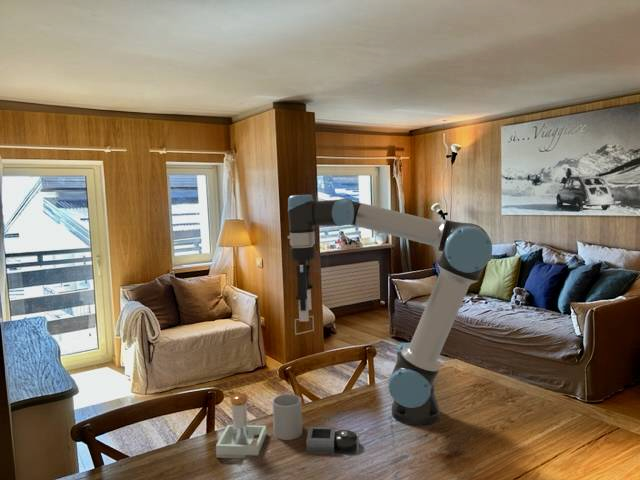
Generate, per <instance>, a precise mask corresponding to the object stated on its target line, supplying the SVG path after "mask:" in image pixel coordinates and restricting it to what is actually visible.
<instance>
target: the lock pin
mask: <svg viewBox="0 0 640 480" xmlns="http://www.w3.org/2000/svg"><path fill="white" fill-rule="evenodd" d="M247 402H248V395H247V394H246V393H241V392H240V393H235V394H233V395H231V396H230V404H231V409H232V410H231V412H232V413H231V415H232V425H233V439H234V445H248V430H247V425H248V413H247V412H248V411H247V408H248V407H247Z"/></svg>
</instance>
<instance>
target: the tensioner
mask: <svg viewBox="0 0 640 480" xmlns="http://www.w3.org/2000/svg"><path fill="white" fill-rule="evenodd" d="M359 443H360V436H359V435H357V434H356V432H354V431H353V430H349V429H342V430H336V427H335V426H308V431H307V436H306V441H305V444H306V451H307V452H306V454H324V455H326V454H327V455H328V454H329V455H353V456H354V455H355V456H357V455H360V453H359V452H360V451H359V450H360V444H359Z"/></svg>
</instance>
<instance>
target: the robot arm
mask: <svg viewBox="0 0 640 480" xmlns="http://www.w3.org/2000/svg"><path fill="white" fill-rule="evenodd" d="M287 216H288V217H287V218H288V228H289V229H288V230H289V235H287V239H288V240H289V245H290V246H291V247H290V249H289V252H290V253H289V254H290V260H292V261H298V264H297V265H296V268H295V269H296V279H297V296H295V300H296V301H297V302H298V303H297V304H298V319H299V320H298V321H299V322H310V319H309V311H312V289H314V286H313V284H312V282H311V264H310V261H311V260H314V259H315V258H316V247H315V246H314V245H316V244H315V243H316V241H315V240H316V235H315V227H331V226H332V227H335V226H336V227H343V226H354V227H358V228H362V229H363V228H364V229H367V230H371V231H374V232H376V233H377V232H378V233H381V234H385V235H390V236H394V237H398V238H402V239H405V240H409V241H412V242H417V243H421V244H425V245H427V246H428V245H429V246H432V247H435V249H436V251H439V252H441V254H440V256H439V257H440V258H439V260H438V261H437V264H436V265H437V268H438V270H439V274H438V276H437V279H436V281H435V283H434V286H433V288H432V291H431V293H430V296H429V297H428V301H427V302H426V305H425V307H424V310H423V312H422V314H421V317H420V320H419V322H418V324H417V327H416V328H415V332H414V333H413V334H414V335H413V336H412V338H411V341H410V342H402V343H399V344H398V345H397V348H396V363H395V365H394V368H393V370H392V373H391V375H390V376H389V378H388V391H389V394H390V396H391V398H392V400H393V401H392V403H391V415H392V417H393V418H394V419H395V420H396V421H398V422H399V423H403V424H406V425H409V426H429V425H431V424H432V425H433V424H435V423H437V422H438V421H439V420H440V418H441V416H440V415H441V412H440V411H441V409H440V406H439V402H438V400H437V396H436V393H435V381H436V378H437V376H438V373H439V371H440V369H441V366H440V363H439V361H438V359H439V357H440V355H441V353H442V351H443V347H444V345H445V343H446V341H447V338H448V336H449V334H450V331H451V329H452V327H453V324H454V322H455V321H456V319H457V315H458V313H459V311H460V308H461V306H462V304H463V301H464V300H465V297H466V295H467V292H468V290H469V287H470V286H471V285H473V284H475V283H477V282H479V279H480V278H481V275H482V273H483V272H484V268H485V267H486V265H487V264H488V263H489V262H490V259H491V258H492V254H493V244H492V240H491V238H490V236H489V235H488V233H487V232H486V230H485V229H484V228H483V227H481V226H479V225H478V224H475V223H470V222H462V221H461V222H459V221H454V220H453V221H452V220H449V219H444V220H443V221H438V220H434V219H429V218H425V217H421V216H417V215H413V214H409V213H405V212H401V211H396V210H392V209H389V208H388V209H387V208H384V207H379V206H376V205H371V204H368V203H363V202H358V201H355V200H352V199H349V198H346V197H345V198H341V199H329V200H314V198H313V195H312V194H294V195H290V196H289V197H288V198H287Z"/></svg>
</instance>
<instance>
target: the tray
mask: <svg viewBox="0 0 640 480" xmlns="http://www.w3.org/2000/svg"><path fill="white" fill-rule="evenodd" d="M247 430H248V445H234V439H233V424H227V425H226V427H225V429H224V431H223V432H222V434H221V436H220V438H219V439H218V441H217V442H216V445H215V453H216V454H215V456H216V458H220V459H221V458H222V459H223V458H224V459H225V458H226V459H245V458H246V456H259V454H260V451H261V449H262V446H263V444H264V441H265V439H266V436H267V425H250V424H249V425H248V424H247ZM255 436H259V437H258V438H257V441H256V444H252V442H253V440H254V437H255Z"/></svg>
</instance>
